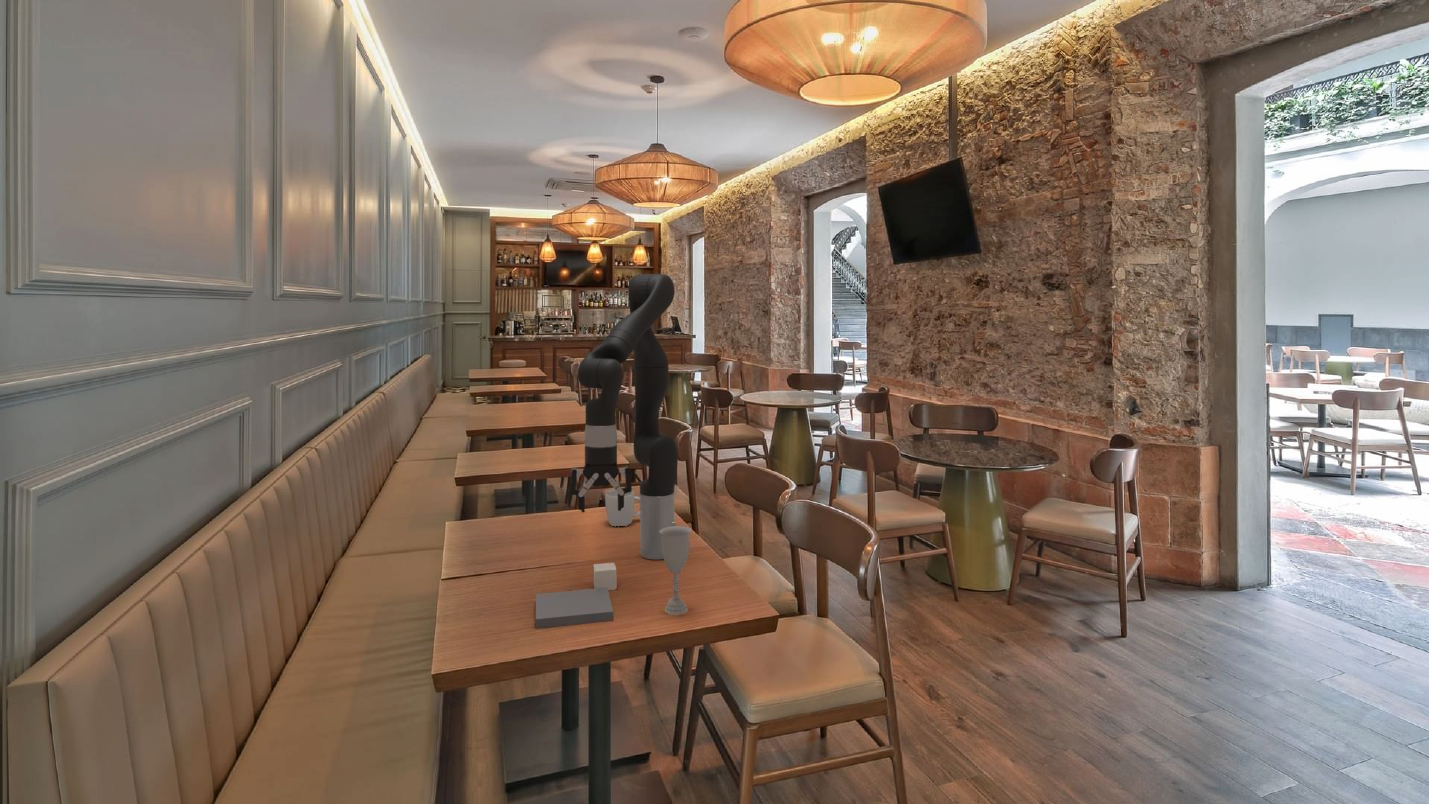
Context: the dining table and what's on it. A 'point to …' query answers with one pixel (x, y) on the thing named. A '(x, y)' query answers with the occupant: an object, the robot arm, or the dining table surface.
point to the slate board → (573, 607)
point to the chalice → (675, 561)
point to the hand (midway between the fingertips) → (601, 510)
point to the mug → (626, 512)
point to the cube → (605, 576)
